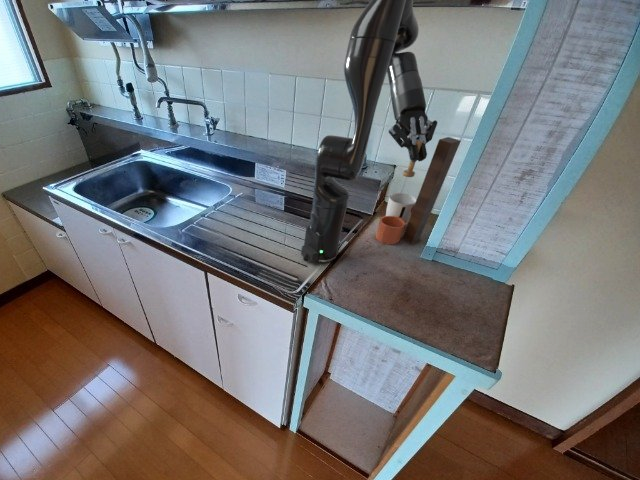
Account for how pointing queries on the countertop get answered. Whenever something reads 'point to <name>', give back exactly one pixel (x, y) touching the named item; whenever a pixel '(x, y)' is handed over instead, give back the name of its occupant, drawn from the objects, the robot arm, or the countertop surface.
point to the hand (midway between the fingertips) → (419, 160)
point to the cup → (400, 205)
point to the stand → (430, 188)
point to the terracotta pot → (390, 229)
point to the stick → (412, 163)
